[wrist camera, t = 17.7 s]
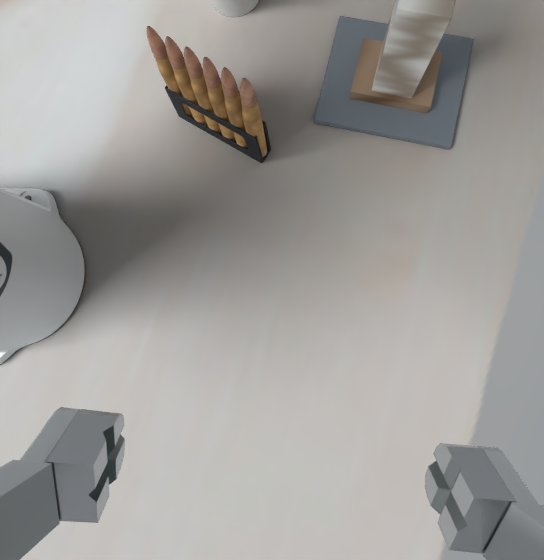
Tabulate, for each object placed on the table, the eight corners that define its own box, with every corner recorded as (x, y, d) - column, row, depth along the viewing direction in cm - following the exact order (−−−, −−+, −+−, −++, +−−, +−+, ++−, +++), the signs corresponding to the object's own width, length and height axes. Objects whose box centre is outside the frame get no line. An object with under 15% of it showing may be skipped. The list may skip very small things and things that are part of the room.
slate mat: (313, 122, 41) (314, 119, 40) (339, 20, 42) (339, 15, 41) (448, 149, 39) (451, 146, 39) (470, 43, 41) (473, 38, 40)
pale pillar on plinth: (348, 98, 40) (369, 10, 29) (361, 46, 41) (386, -60, 30) (426, 113, 39) (477, 28, 28) (438, 60, 40) (492, -44, 29)
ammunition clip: (271, 149, 41) (261, 74, 29) (262, 163, 40) (248, 94, 29) (187, 102, 42) (144, 11, 30) (178, 115, 42) (131, 30, 30)
